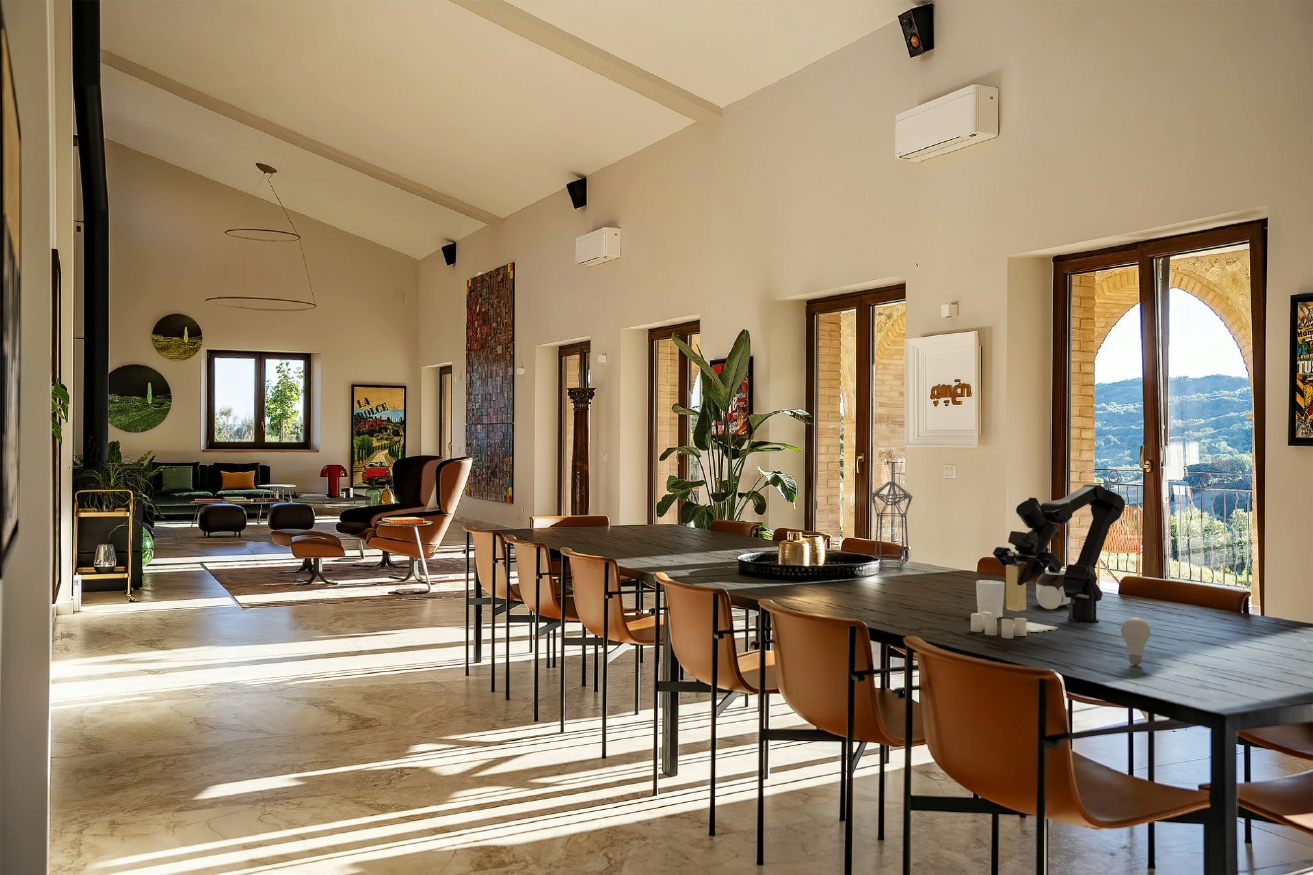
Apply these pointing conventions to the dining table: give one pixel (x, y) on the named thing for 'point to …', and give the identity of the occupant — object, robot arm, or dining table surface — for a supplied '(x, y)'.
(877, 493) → the geometric lantern
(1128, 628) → the lightbulb
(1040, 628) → the mat
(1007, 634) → the spacers
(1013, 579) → the brass post
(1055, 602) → the spread jar
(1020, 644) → the dining table surface
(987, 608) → the white cup
